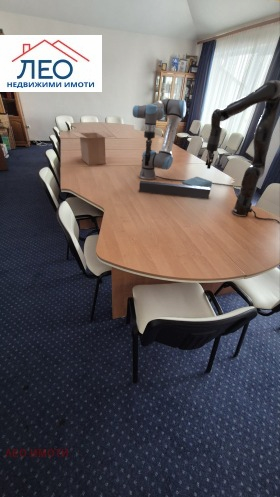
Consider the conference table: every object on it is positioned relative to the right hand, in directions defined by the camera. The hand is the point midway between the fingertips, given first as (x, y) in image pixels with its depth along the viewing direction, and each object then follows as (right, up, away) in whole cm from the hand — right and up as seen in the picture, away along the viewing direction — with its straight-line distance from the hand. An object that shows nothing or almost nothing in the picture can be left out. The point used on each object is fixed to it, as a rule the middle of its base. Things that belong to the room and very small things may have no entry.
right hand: (207, 166), depth 162 cm
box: (-100, +34, +75) cm, 129 cm away
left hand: (-44, +4, +3) cm, 45 cm away
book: (-1, -7, +30) cm, 31 cm away
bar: (-23, -16, +15) cm, 32 cm away
